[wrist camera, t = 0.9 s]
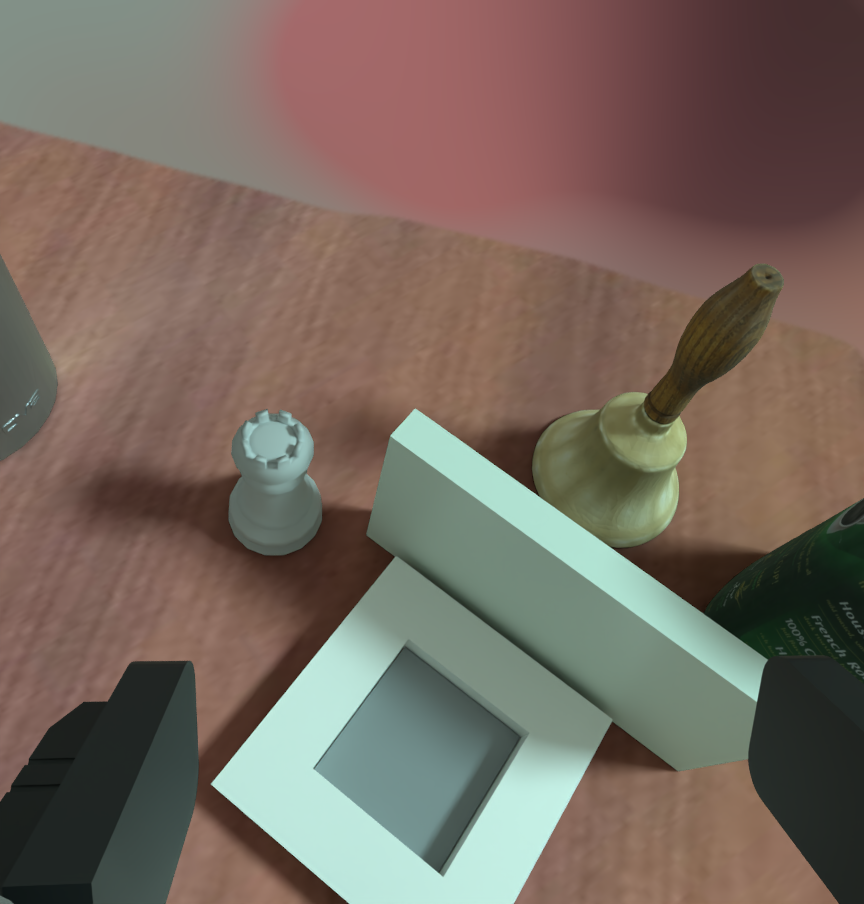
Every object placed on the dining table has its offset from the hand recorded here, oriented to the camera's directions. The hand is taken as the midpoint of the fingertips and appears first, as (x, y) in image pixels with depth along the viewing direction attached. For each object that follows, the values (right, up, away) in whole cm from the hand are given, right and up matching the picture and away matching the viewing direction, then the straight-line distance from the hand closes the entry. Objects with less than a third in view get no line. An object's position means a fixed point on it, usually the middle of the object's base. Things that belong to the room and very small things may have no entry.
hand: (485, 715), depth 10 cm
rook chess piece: (-8, 0, +25) cm, 27 cm away
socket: (0, -9, +22) cm, 23 cm away
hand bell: (+9, +2, +30) cm, 31 cm away
